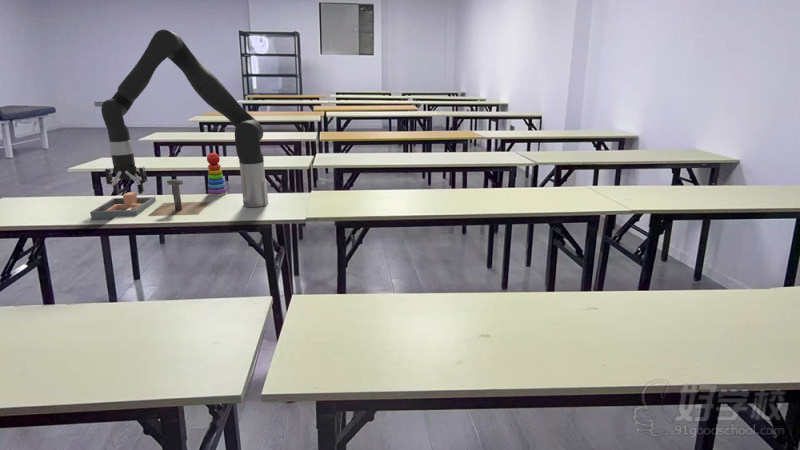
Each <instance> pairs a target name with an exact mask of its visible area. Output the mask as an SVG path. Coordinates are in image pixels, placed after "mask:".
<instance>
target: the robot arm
mask: <svg viewBox="0 0 800 450" xmlns="http://www.w3.org/2000/svg"><path fill="white" fill-rule="evenodd" d="M167 58H168V59H169V60H170V61H171V62H172V63H173V64H175V66H177V67H178V68H179V69H180V71H181V72H182V73H183V75H184V76H185V77H186V79H187V81H188V82H189V84H190V86H191V87H192V89H193V90H194V91H195V92H196V93H197V95H198V96H199V97H200V98H201V99H202V101H204V102H205V103H206V104H207V105H208V106H209V107H211V108H212V109H213V110H214V111H216V112H218V113H219V114H220V115H222V116H224V117H225V118H226V119H227V120H228V121H229V122H230V123H231V124H232V125H233V126H234V128H235V129H234V142H235V149H236V155H237V158H238V162H239V171H240V183H241V193H242V202H243V203H242V204H243V206H244V207H247V208H258V207H266V206H267V205H268V203H269V197H268V196H269V195H268V186H267V179H266V174H265V161H264V159H265V158H264V155H263V153H262V151H261V143H260V141H261V140H262V138H263V137H264V128H263V126H262V125H261V124H260V122H258V121H257V120H256V119H255V118H254V117H253V116H252V115H251V114H249V113H248V112H247V110H245V109H244V107H242V105H240V103H239V102H238V101H237V99H235V97H234V96H233V95H232V94H231V92H229V91H228V89H227V88H226V87H225V86H224V85H223V83H222V82H221V81H220V80H219V79H218V78H217V77H216V76H215V74H213V72H211V71H210V70H209V69H208V68H207V67H206V66H205V65H204V64H203V63H202V62H200V60H198V58H197V57H196V56H195V55H194V53H193V52H192V51H191V49H190V48H189V47H188V46H187V44H186V43H185V41H184V40H183V39H182V38H181V36H180V35H178V34H177V33H176V32H174V31H172V30H169V29H160V30H157V31H156V32H155V33H154V34H153V36H152V38H151V40H150V41H149V43H148V45H147V47H146V49H145V50H144V52H143V54H142V55H141V57H140V58H139V60H138V61H137V63H136V64H135V66H134V67H133V68H132V70H131V71H130V72H129V73H128V75H126V77H125V78H124V79H123V80H122V81H121V83H120V84H118V85H119V86H118V87H117V91H116V92H115V93H114V95H113V96H112V97H111V98H109V99H106V100H104V101H103V102H102V104H101V109H100V110H101V116H102V119H103V121H104V124H105V126H106V129H107V135H108V140H109V151H110V152H109V153H110V156H111V161H112V166H113V167H112V168H111V167H107V168H105V169H104V172H105V173H104V174H105V181H106V184H107V185H111V186H112V189H113V194H115V195H116V196H118V195H119V196H120V194H121V192H120V186H119V182H120V180H130V179H131V180H132V181H134V182H135V183H136V184H137V192H138V195H141V194H143V192H144V191H145V190H144V189H145V188H144V186H143V185H144V183H147V182H148V176H147V172H146V168H145V167H144V166H141V167H137V166H136V162H135V156H134V149H133V144H132V141H131V136H130V131H129V128H128V126H127V125H126V124H125V120H124V116H125V115H126V114H127V113H128V112H129V110H130V109H131V107H132V106H133V104H134V102H135V101H136V99H137V98H138V97H139V96H140V95H141V94H142V93H143V92H144V90H145V89H146V88H147V86H148V85H149V84H150V82H151V80H152V77H153V75H154V73H155V72H156V70H157V68H158V67H159V66H160V65H161V63H163V62H164V61H165V60H167ZM137 172H138V174H140V176H139V175H138V174H137ZM113 173H114V174H115V177H114V178H113Z"/></svg>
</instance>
